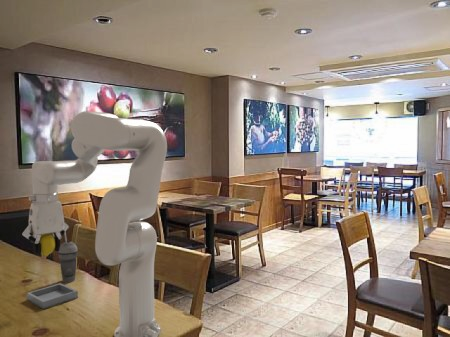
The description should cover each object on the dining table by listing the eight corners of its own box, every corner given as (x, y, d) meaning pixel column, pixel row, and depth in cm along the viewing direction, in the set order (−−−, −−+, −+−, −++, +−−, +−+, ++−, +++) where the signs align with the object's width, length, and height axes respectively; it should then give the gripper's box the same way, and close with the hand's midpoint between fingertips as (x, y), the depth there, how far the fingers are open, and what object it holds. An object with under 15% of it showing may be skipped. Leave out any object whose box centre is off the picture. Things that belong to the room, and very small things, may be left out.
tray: (77, 297, 132) (77, 290, 132) (43, 309, 123) (43, 301, 123) (60, 289, 140) (60, 283, 139) (26, 300, 130) (26, 293, 130)
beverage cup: (71, 284, 145) (70, 233, 144) (54, 283, 147) (53, 232, 145) (82, 278, 152) (81, 228, 151) (66, 276, 154) (64, 228, 153)
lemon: (50, 253, 130) (49, 230, 129) (58, 255, 127) (58, 232, 126) (34, 256, 126) (33, 233, 125) (42, 259, 122) (41, 235, 122)
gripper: (24, 202, 116) (25, 260, 117) (75, 196, 129) (77, 248, 130) (13, 200, 120) (14, 256, 121) (64, 195, 134) (65, 245, 135)
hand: (47, 251), depth 126 cm, fingers closed on lemon, 5 cm apart
